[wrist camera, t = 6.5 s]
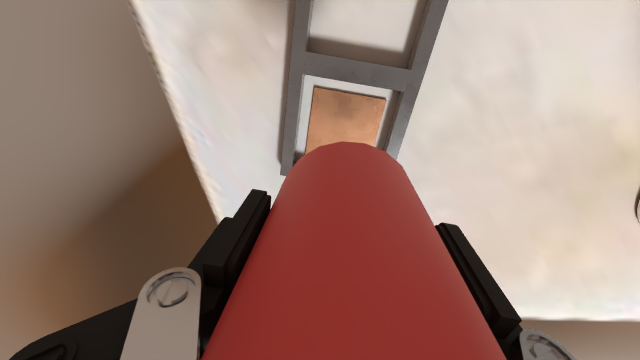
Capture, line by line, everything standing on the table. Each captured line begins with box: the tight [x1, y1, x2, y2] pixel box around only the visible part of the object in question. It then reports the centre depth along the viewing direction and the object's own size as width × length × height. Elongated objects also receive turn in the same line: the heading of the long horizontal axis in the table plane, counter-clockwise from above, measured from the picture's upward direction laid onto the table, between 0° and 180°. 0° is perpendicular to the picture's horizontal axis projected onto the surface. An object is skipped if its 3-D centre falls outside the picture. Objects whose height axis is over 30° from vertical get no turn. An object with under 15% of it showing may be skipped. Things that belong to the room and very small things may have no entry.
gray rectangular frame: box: [280, 0, 449, 176], centre depth 22 cm, size 12×23×2 cm, turn 171°
